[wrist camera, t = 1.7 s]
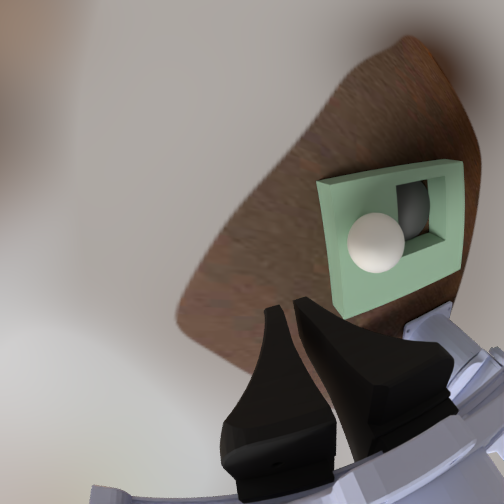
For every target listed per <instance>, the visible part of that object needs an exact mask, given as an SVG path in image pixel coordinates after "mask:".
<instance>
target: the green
mask: <svg viewBox="0 0 504 504" xmlns="http://www.w3.org/2000/svg"><path fill="white" fill-rule="evenodd" d="M425 179H427V180H428V191H427V189H426V187H425V186H424V184H423V183H422V182H421V181H420V180H425ZM316 183H317V189H318V194H319V200H320V206H321V212H322V219H323V225H324V232H325V239H326V247H327V255H328V263H329V271H330V280H331V290H332V300H333V305H334V307H335V308H336V309H337V311H338V312H339V313H340V315H341V316H342V317H343V319H344V320H345V319H347V318H350V317H353V316H355V315H358V314H361V313H363V312H366V311H368V310H371V309H374V308H376V307H379V306H381V305H383V304H386V303H388V302H391V301H393V300H395V299H398V298H400V297H402V296H405V295H407V294H409V293H412V292H414V291H416V290H418V289H420V288H423V287H425V286H427V285H429V284H431V283H433V282H435V281H437V280H439V279H441V278H444V277H446V276H448V275H450V274H452V273H453V272H455V271H457V270H459V269H460V267H461V259H462V249H463V235H464V208H465V197H464V170H463V162H462V161H456V160H449V159H440V160H433V161H426V162H419V163H412V164H406V165H399V166H393V167H387V168H381V169H376V170H370V171H364V172H359V173H354V174H349V175H344V176H338V177H334V178H329V179H324V180H319V181H316ZM369 213H383V214H386V215H388V216H390V217H391V218H393V219H394V220H395V221H396V222H397V223H398V224H399V226H400V227H401V229H402V232H403V235H404V240H405V246H404V252H403V255H402V257H401V259H400V260H399V262H398V263H397V264H396V265H395V266H394V267H393V268H391V269H390V270H388V271H385V272H382V273H371V272H367V271H364V270H363V269H361V268H360V267H358V266H357V265H356V264H355V263H354V262H353V260H352V258H351V257H350V254H349V251H348V247H347V238H348V234H349V231H350V229H351V227H352V225H353V224H354V223H355V221H356V220H357V219H359V218H360V217H362V216H363V215H366V214H369ZM428 217H429V233H426V234H423V235H420V236H417V235H418V234H419V233H420V232H421V231H422V230H423V228H424V227H425V225H426V223H427V220H428ZM416 236H417V237H416ZM414 237H415V238H414Z"/></svg>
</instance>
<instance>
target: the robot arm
mask: <svg viewBox="0 0 504 504" xmlns="http://www.w3.org/2000/svg"><path fill="white" fill-rule="evenodd" d="M293 304H294V309H295V315H296V320H297V326H298V332H299V336H300V339H301V341H302V344H303V346H304V349H305V351H306V354H307V355H308V357H309V359H310V361H311V363H312V365H313V366H314V368H315V370H316V372H317V373H318V375H319V377H320V379H321V381H322V382H323V384H324V386H325V388H326V390H327V392H328V394H329V396H330V398H331V400H332V403H333V405H334V408H335V410H336V413H337V415H338V418H339V420H340V423H341V425H342V428H343V431H344V433H345V436H346V439H347V441H348V444H349V447H350V450H351V453H352V456H353V459H354V462H355V463H352V464H350V465H347V466H345V467H342V468H339V469H337V470H334V456H336V424H337V422H336V418H335V416H334V414H333V412H332V410H331V408H330V405H329V404H328V403H327V401H326V400H325V399H324V397H323V396H322V394H321V393H320V391H319V389H318V388H317V386H316V385H315V383H314V382H313V380H312V378H311V376H310V375H309V373H308V371H307V369H306V368H305V366H304V364H303V362H302V360H301V358H300V356H299V354H298V352H297V350H296V348H295V346H294V344H293V341H292V338H291V335H290V332H289V328H288V325H287V321H286V318H285V315H284V312H283V310H282V308H281V307H280V305H276V306H272V307H269V308H266V309H265V310H264V314H265V329H264V337H263V343H262V347H261V352H260V355H259V359H258V362H257V365H256V368H255V370H254V373H253V375H252V377H251V380H250V382H249V384H248V386H247V388H246V390H245V391H244V393H243V395H242V397H241V398H240V400H239V402H238V403H237V405H236V406H235V408H234V409H233V410H232V412H231V413H230V414H229V416H228V417H227V419H226V420H225V421H224V422H223V427H222V432H221V439H220V456H221V464H222V466H223V468H224V469H225V470H226V471H227V472H228V473H229V474H230V475H231V476H232V477H233V478H234V479H235V480H236V486H237V493H238V494H233V495H224V496H215V497H214V496H213V497H198V498H152V497H150V498H149V497H137V496H131V495H130V494H128V493H127V492H125V491H123V490H120V489H117V488H112V487H105V486H99V485H92V489H91V495H90V502H89V504H504V478H503V476H502V475H501V473H500V472H499V470H498V469H497V467H496V466H495V464H494V463H493V461H492V460H491V458H490V457H489V455H488V453H491V452H497V453H498V454H499V455H500V457H501V458H502V459H503V461H504V352H503V351H502V350H501V349H500V348H499V347H495V348H490V350H489V353H490V354H491V355H492V356H494V357H492V356H491V355H490V354H489V353H488V352H486V351H485V350H484V349H482V348H481V347H480V346H479V345H478V344H477V343H476V342H475V341H473V340H472V339H471V338H470V337H469V336H468V335H467V334H466V333H464V332H463V331H462V330H461V329H460V328H459V327H458V326H456V325H455V324H454V323H453V322H452V321H451V320H449V318H450V313H451V309H452V302H451V301H448V302H447V303H445V304H443V305H441V306H439V307H438V308H436V309H434V310H432V311H430V312H428V313H426V314H424V315H422V316H420V317H418V318H416V319H414V320H412V321H410V322H408V323H406V325H405V326H404V332H403V339H399V338H394V337H390V336H386V335H382V334H378V333H375V332H372V331H369V330H366V329H364V328H361V327H358V326H356V325H354V324H351V323H349V322H347V321H345V320H343V319H341V318H340V317H338V316H336V315H334V314H333V313H331V312H329V311H328V310H326V309H324V308H323V307H321V306H320V305H318V304H317V303H315V302H314V301H312V300H311V299H309V298H308V297H303V298H300V299H296V300H293Z"/></svg>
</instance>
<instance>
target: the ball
mask: <svg viewBox="0 0 504 504" xmlns="http://www.w3.org/2000/svg"><path fill="white" fill-rule="evenodd" d="M404 246H405V240H404V235H403V232H402V229H401V227H400V226H399V224H398V223H397V222H396V221H395V220H394V219H393V218H391V217H390V216H388V215H386V214H383V213H369V214H366V215H363V216H362V217H360V218H359V219H357V220H356V221H355V223H354V224H353V225H352V227H351V229H350V231H349V234H348V238H347V247H348V251H349V254H350V257H351V258H352V260H353V262H354V263H355V264H356V265H357V266H358V267H360V268H361V269H363V270H364V271H367V272H371V273H382V272H385V271H388V270H390V269H391V268H393V267H394V266H395V265H396V264H397V263H398V262H399V260H400V259H401V257H402V255H403V252H404Z"/></svg>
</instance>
